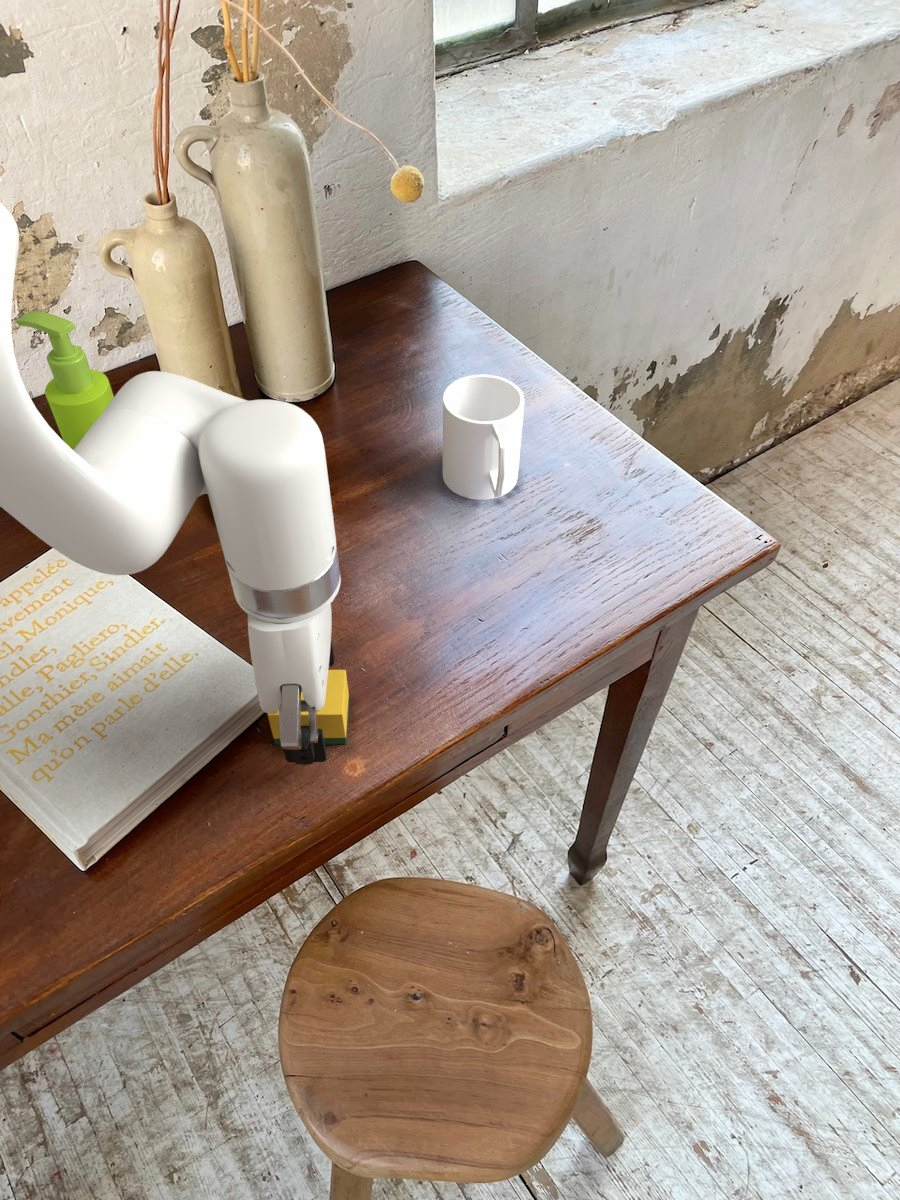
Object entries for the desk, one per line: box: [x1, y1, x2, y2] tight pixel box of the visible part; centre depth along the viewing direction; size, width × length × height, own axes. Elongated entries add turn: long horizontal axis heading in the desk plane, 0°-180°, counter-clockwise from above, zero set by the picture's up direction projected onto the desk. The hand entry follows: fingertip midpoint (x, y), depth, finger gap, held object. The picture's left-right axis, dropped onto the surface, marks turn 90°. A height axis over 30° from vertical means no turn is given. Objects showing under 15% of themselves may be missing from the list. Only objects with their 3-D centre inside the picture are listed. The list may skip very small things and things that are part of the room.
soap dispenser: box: [14, 310, 115, 450], centre depth 89 cm, size 6×7×20 cm
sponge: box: [267, 669, 351, 746], centre depth 75 cm, size 6×4×4 cm
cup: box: [442, 373, 525, 501], centre depth 93 cm, size 8×12×10 cm
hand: (311, 709), depth 75 cm, fingers open, 9 cm apart
